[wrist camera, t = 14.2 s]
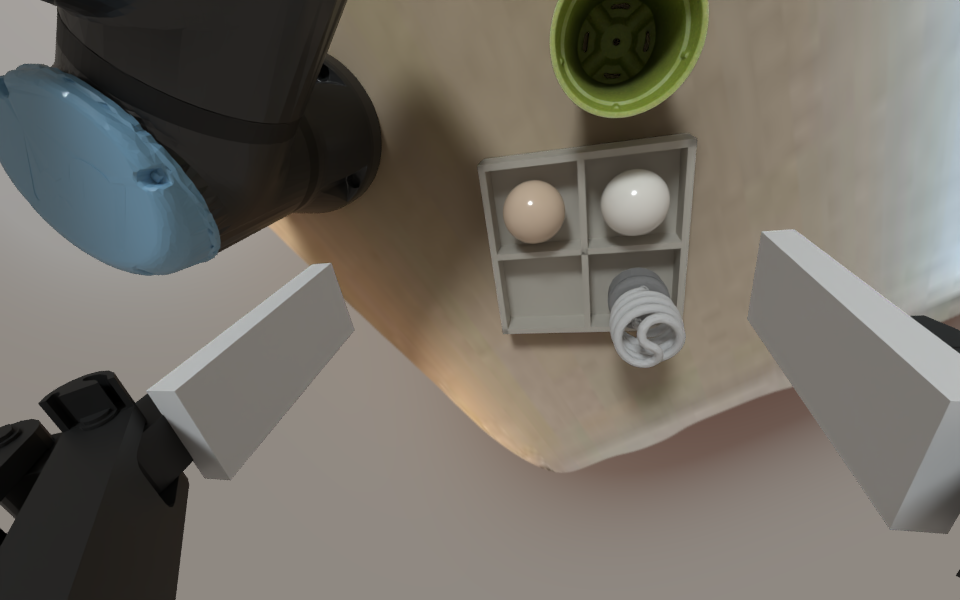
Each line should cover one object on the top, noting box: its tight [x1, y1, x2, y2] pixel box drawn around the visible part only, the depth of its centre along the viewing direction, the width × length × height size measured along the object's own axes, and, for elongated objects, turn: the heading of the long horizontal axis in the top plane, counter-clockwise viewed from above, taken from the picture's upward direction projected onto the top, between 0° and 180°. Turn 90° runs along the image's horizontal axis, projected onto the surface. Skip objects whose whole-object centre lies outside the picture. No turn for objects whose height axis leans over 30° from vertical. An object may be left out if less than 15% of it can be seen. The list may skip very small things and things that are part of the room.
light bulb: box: [608, 267, 686, 368], centre depth 37 cm, size 6×6×12 cm
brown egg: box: [503, 180, 565, 244], centre depth 38 cm, size 6×6×6 cm
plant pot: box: [550, 0, 709, 118], centre depth 30 cm, size 9×9×9 cm
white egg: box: [600, 169, 670, 236], centre depth 36 cm, size 6×6×6 cm
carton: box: [477, 133, 697, 334], centre depth 40 cm, size 18×18×3 cm
